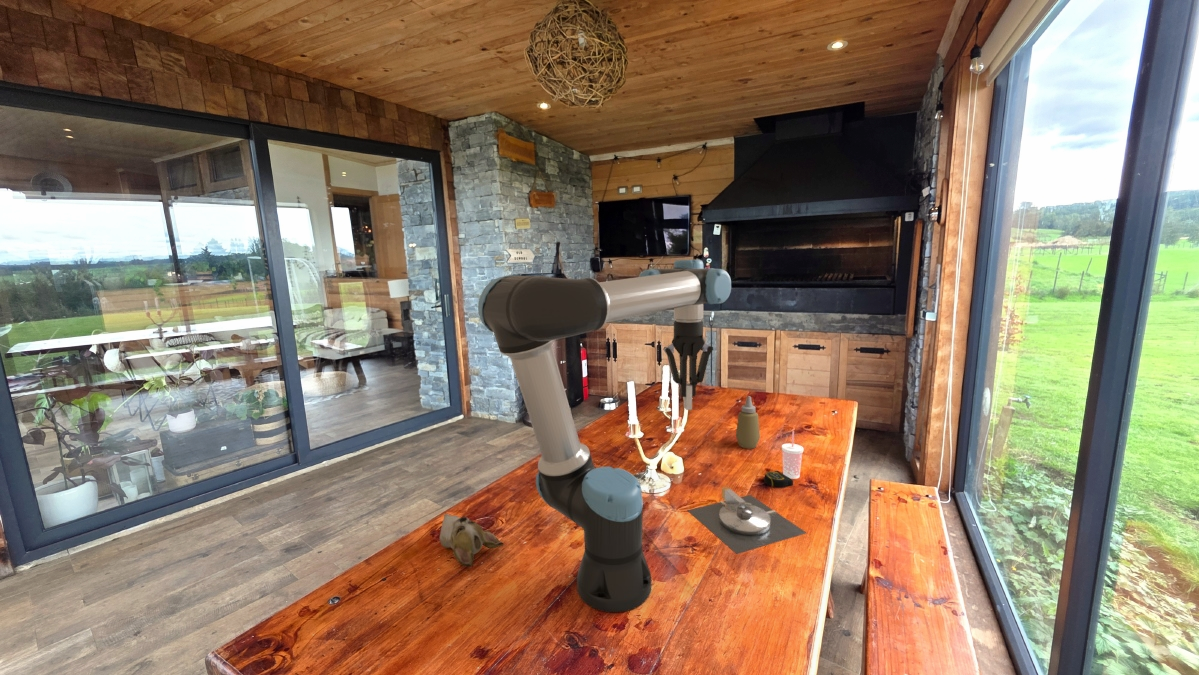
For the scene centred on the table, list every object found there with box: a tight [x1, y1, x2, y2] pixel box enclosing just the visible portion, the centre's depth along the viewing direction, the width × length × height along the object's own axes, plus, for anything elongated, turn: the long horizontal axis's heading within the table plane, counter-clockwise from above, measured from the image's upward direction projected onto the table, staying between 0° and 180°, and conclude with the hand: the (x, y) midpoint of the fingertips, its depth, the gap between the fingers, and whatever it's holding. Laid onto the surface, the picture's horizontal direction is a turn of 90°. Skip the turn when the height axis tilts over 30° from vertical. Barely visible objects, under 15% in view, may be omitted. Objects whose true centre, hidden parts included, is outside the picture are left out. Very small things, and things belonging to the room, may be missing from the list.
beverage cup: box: [781, 430, 804, 480], centre depth 143 cm, size 6×6×14 cm
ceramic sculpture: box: [439, 513, 505, 567], centre depth 109 cm, size 11×9×15 cm
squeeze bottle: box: [735, 395, 761, 450], centre depth 165 cm, size 8×8×18 cm
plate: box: [687, 494, 807, 555], centre depth 117 cm, size 20×20×2 cm
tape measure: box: [763, 470, 794, 489], centre depth 136 cm, size 7×7×4 cm
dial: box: [719, 486, 770, 535], centre depth 118 cm, size 16×12×4 cm
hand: (687, 408), depth 126 cm, fingers closed
